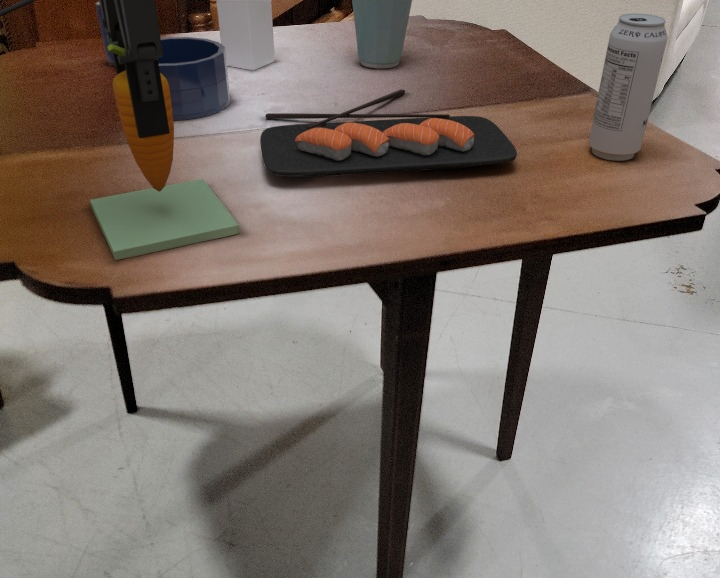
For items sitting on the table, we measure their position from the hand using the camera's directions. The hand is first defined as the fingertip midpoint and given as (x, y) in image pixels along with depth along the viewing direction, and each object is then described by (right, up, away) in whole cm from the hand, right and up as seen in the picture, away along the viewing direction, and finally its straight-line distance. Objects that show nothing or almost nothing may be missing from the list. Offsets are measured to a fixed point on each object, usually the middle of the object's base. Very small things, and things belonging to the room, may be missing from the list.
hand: (146, 124), depth 67 cm
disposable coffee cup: (+23, +25, +50) cm, 60 cm away
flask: (-17, +24, +47) cm, 56 cm away
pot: (-5, +14, +34) cm, 37 cm away
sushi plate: (+22, +7, +25) cm, 34 cm away
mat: (0, -8, +6) cm, 10 cm away
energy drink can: (+50, +3, +21) cm, 54 cm away
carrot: (0, -5, +4) cm, 7 cm away
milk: (+2, +25, +49) cm, 55 cm away
